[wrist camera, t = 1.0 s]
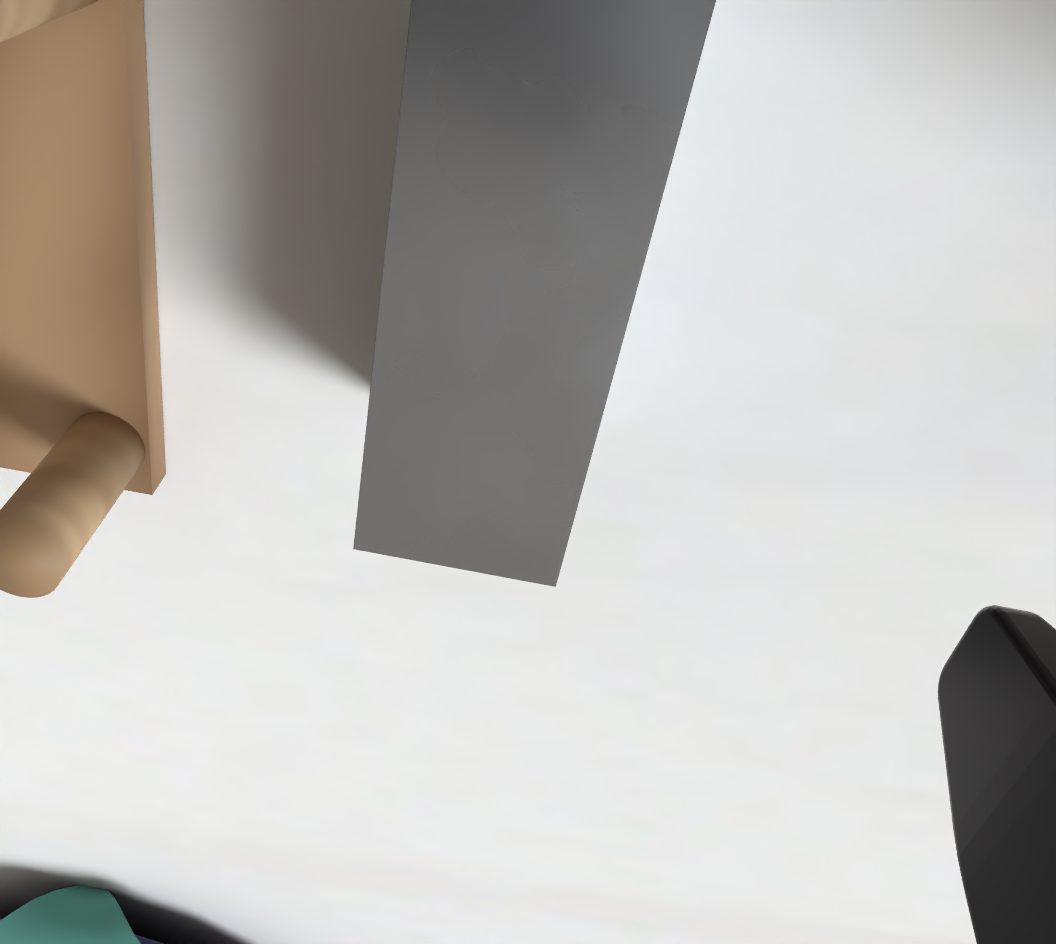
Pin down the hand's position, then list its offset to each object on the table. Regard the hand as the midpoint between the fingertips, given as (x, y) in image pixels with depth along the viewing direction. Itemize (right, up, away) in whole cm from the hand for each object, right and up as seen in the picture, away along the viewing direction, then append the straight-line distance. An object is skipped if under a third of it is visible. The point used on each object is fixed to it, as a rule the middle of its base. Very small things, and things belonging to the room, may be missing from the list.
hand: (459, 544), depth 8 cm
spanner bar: (+1, +7, +9) cm, 12 cm away
